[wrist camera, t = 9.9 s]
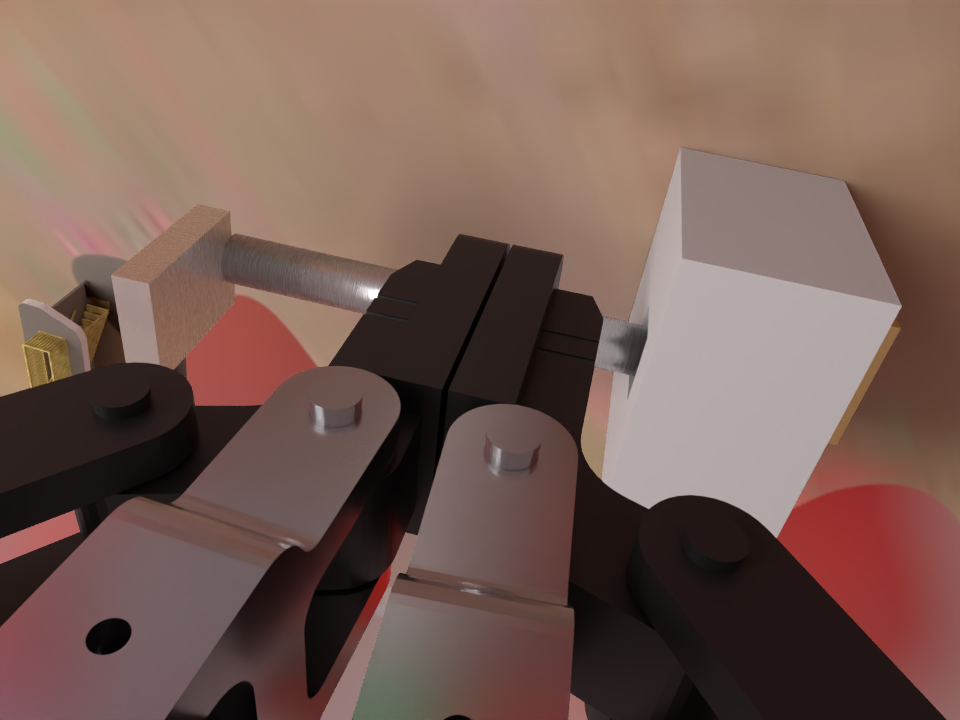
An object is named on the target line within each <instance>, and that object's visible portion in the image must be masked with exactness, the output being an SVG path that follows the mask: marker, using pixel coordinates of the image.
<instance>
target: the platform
mask: <svg viewBox="0 0 960 720" xmlns="http://www.w3.org/2000/svg"><path fill="white" fill-rule="evenodd" d="M126 262H128V261H126V260H123V259H120V258H116V257H110V256H106V255H97V254H95V255H93V254H85V255H81V256H78V257H76V258H75V259H74V260H73V261H72V273H73V275H74V277H75V280H76V282H77V283H78V285H79V286H78V287H76V288H75V289H74V290H73V291H71V292H70V293H69V294H67V295H66V296H65V297H64V298H62V299H61V300H60V301H59V302H57V303H56V304H55V305H54V306H52V307H50V306H49V305H47V304H45V303H42V302H39V301H36V300H32V299H27V300H25V301H24V302H23V303H21V304H20V305H19V312H20V317H21V322H22V327H23V332H24V338H25V344H23V343H22V347H23V352H24V357H25V363H26V368H27V373H28V378H29V383H30V388H32V387H36V386H39V385H43V384H46V383H49V382H53V381H56V380H60V379H63V378H66V377H70V376H73V375H76V374H80V373H83V372H87V371H90V370H93V369H95V363H94V357H95V355H94V354H95V351H96V350H97V348H96V347H97V344H98V343H99V342H100V341H99V340H100V339H99V338H100V336H101V335H102V334H101V333H102V330H103V328H105V327H104V324H105V322H106V321H108V322H109V323H110V324H111V325H112V326H113V327H114V329H115V330H116V331H117V332H118V333H119V334H120V335H121V331H120V325H119V319H118V313H117V307H116V301H115V295H114V289H113V283H112V277H111V275H112V274H113V273H114V272H115V271H117V270H118V269H119V268H120V267H122V266H123V265H124V264H125V263H126ZM86 297H87V298H88V299H89V300H90V302H91V303H92V304H93V305H94V306H93V305H90V304H87V301H86ZM88 311H89V312H88ZM93 312H94V313H98V314H101V315H97V314H94V313H93ZM90 319H91V320H95V321H91V320H90ZM27 358H28V359H27ZM174 370H175V371H177V372H178V373H180V374H181V375H183V376H184V377H185V378H186V379H187V371H186V357H185V358H184V359H183V360H182V361H181V362H180V363H179V365H178V366H177V367H176V368H175V369H174Z"/></svg>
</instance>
